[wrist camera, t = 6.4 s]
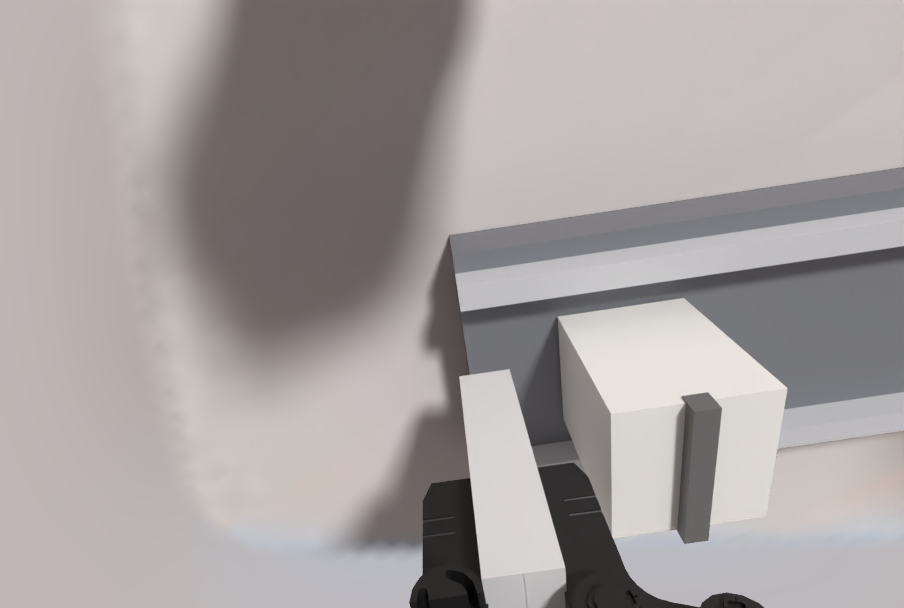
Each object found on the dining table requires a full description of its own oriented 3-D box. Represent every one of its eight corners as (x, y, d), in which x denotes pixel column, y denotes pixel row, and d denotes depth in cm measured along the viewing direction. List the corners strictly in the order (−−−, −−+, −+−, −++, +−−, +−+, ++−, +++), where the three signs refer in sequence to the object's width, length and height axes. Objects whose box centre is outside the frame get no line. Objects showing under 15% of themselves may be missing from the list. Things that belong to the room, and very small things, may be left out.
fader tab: (557, 315, 16) (617, 423, 11) (683, 296, 16) (799, 396, 11) (563, 419, 18) (617, 553, 13) (677, 403, 18) (775, 531, 13)
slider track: (449, 235, 17) (458, 296, 12) (1266, 113, 17) (1583, 128, 12) (480, 446, 21) (496, 552, 16) (1145, 349, 20) (1353, 429, 16)
